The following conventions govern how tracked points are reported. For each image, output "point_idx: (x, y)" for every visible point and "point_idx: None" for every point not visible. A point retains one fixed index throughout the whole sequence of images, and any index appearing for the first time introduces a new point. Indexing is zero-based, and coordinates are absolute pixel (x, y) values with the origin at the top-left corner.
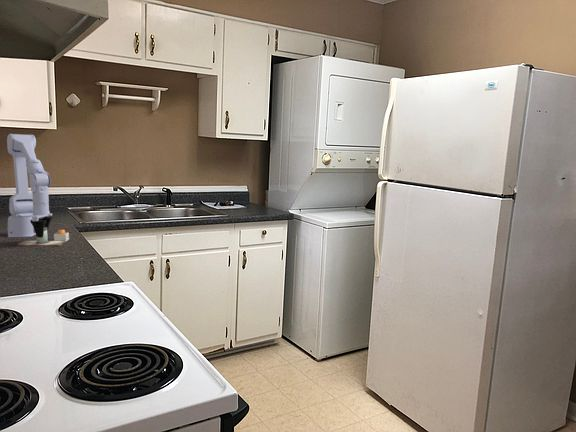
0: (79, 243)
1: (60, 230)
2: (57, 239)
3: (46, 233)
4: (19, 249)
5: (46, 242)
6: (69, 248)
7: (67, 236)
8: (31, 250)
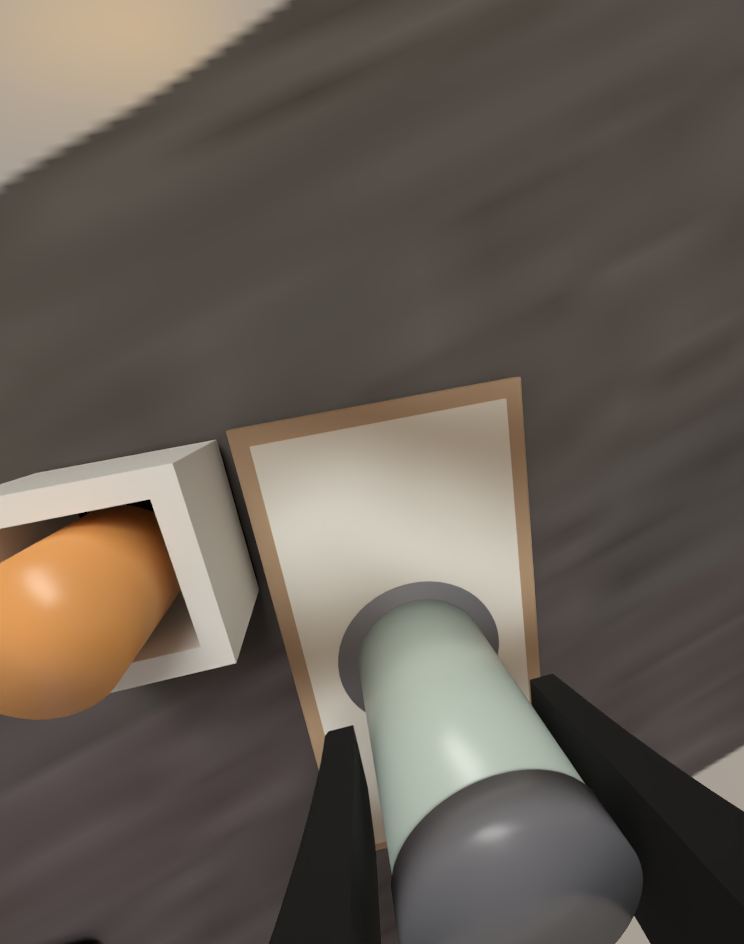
0: (246, 172)
1: (94, 637)
2: (238, 564)
3: (486, 705)
4: (671, 691)
5: (438, 602)
6: (619, 182)
7: (72, 473)
8: (717, 572)
